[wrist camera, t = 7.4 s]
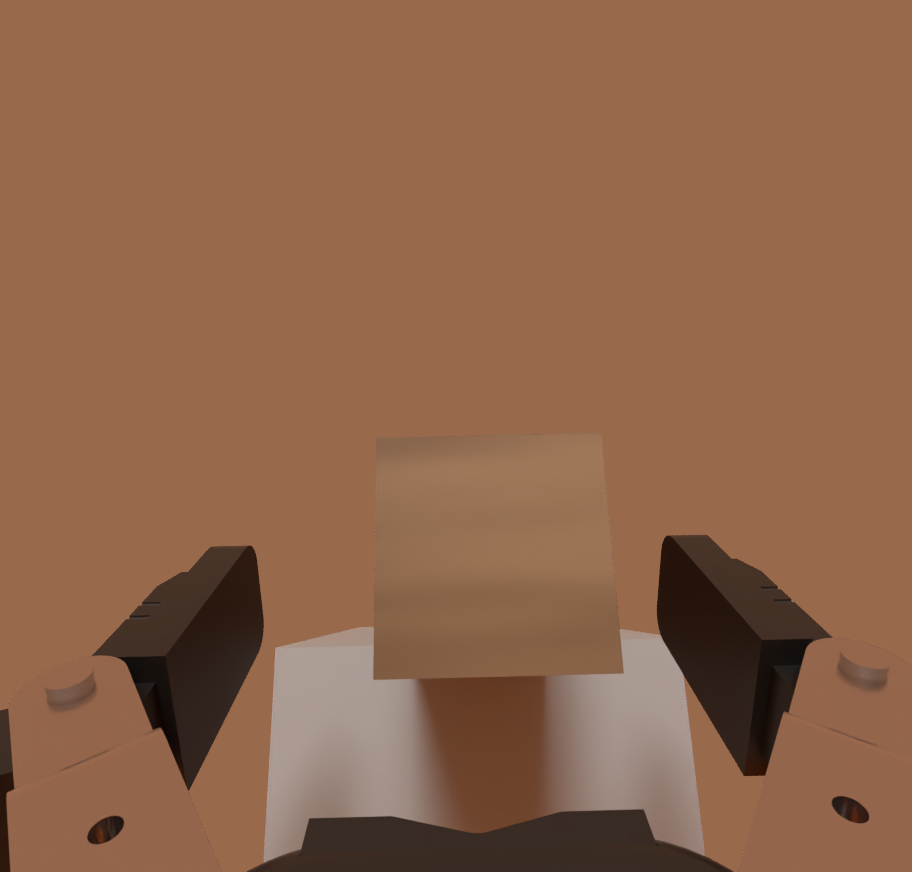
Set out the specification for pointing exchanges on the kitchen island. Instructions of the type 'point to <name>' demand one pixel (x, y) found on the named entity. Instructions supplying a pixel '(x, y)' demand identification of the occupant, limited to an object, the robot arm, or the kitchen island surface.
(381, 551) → the walnut bar
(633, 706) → the tall white pillar
